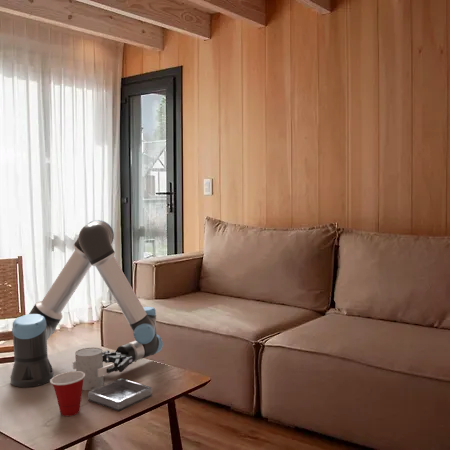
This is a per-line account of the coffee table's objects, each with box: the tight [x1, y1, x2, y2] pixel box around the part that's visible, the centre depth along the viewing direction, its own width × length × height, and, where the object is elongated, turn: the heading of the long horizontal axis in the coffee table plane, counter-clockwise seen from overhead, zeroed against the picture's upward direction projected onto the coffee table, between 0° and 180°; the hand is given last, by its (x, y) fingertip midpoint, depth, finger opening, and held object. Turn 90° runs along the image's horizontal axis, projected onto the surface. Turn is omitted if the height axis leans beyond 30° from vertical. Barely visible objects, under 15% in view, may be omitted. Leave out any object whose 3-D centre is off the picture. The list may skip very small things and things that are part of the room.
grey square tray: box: [87, 377, 153, 412], centre depth 192 cm, size 15×15×3 cm
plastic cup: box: [49, 370, 85, 417], centre depth 181 cm, size 11×11×12 cm
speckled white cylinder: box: [74, 347, 105, 391], centre depth 204 cm, size 10×10×12 cm
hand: (85, 369), depth 202 cm, fingers open, 13 cm apart
